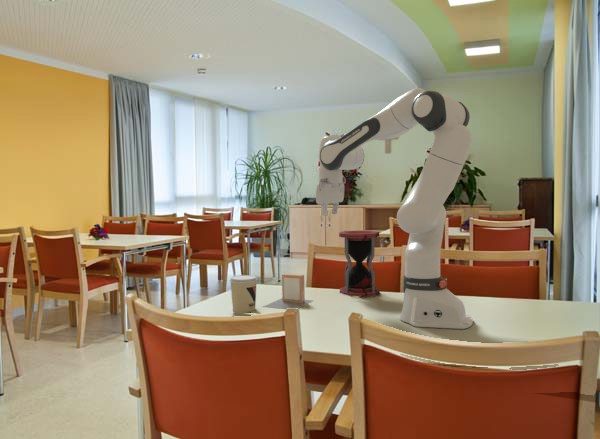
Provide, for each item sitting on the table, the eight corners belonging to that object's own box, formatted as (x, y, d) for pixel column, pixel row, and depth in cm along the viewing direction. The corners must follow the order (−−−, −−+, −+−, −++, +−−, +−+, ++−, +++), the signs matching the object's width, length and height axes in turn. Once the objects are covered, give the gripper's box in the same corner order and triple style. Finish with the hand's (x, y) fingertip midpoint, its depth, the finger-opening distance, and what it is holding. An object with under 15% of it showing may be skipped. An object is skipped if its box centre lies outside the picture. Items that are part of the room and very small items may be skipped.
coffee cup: (253, 314, 174) (252, 280, 174) (227, 313, 176) (226, 279, 176) (260, 308, 184) (259, 275, 183) (235, 307, 186) (235, 274, 185)
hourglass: (361, 299, 195) (360, 234, 193) (331, 293, 207) (330, 232, 205) (387, 293, 206) (387, 231, 204) (357, 287, 218) (357, 229, 216)
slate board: (313, 302, 191) (313, 300, 191) (294, 312, 177) (294, 310, 177) (283, 299, 197) (283, 297, 197) (262, 308, 183) (262, 306, 182)
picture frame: (304, 301, 190) (304, 274, 189) (301, 303, 187) (301, 276, 187) (285, 299, 193) (285, 273, 193) (282, 301, 191) (281, 274, 190)
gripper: (327, 178, 183) (327, 216, 184) (347, 178, 202) (346, 213, 203) (311, 178, 186) (311, 216, 187) (332, 178, 205) (332, 213, 206)
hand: (329, 214), depth 195 cm, fingers open, 8 cm apart
